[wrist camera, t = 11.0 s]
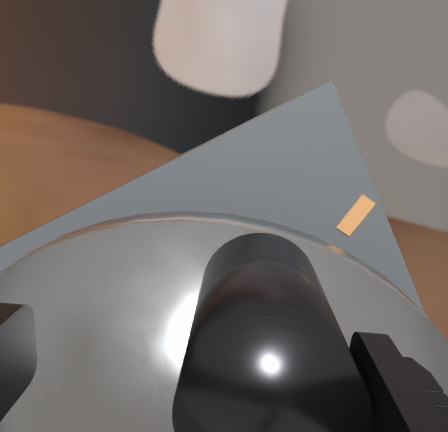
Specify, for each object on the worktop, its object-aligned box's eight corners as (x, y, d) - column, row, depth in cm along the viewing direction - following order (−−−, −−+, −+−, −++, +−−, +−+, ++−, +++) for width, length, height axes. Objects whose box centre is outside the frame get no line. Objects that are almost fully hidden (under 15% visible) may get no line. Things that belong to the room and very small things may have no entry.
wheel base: (133, 569, 29) (105, 685, 23) (-80, 285, 23) (-189, 345, 17) (477, 463, 25) (549, 572, 19) (322, 83, 19) (358, 72, 13)
